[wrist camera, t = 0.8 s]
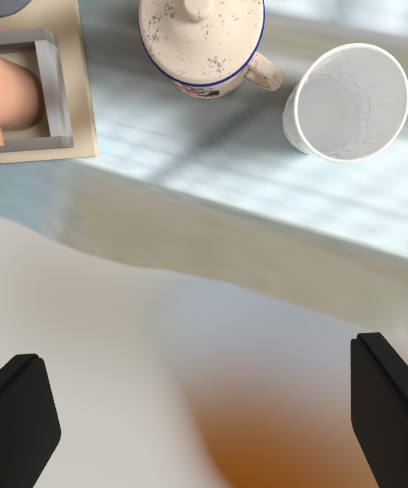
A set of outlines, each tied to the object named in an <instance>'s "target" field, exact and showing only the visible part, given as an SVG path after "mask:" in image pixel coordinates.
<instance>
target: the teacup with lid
mask: <svg viewBox="0 0 408 488" xmlns="http://www.w3.org/2000/svg"><path fill="white" fill-rule="evenodd" d="M264 21H265V7H264V0H140V1H139V8H138V25H139V31H140V36H141V40H142V43H143V45H144V48H145V50H146V52H147V54H148V56H149V57H150V59H151V60H152V62H153V63H154V64H155V66H156V67H157V68H158V69H159V70H160V71H161V72H162V73H163V74H165V75H166V76H167V77H169V78H170V79H171V81H172V82H173V83H174V84H175V85H176V86H177V87H178V88H179V89H180V90H181V91H183V92H184V93H186V94H188V95H190V96H193V97H196V98H201V99H213V98H218V97H221V96H223V95H226V94H227V93H229V92H231V91H232V90H233V89H235V88H236V87H237V86H238V85H239V84H240V83H241V82H242V80H243V79H244V78H245V79H247V80H248V81H250V82H252V83H253V84H255V85H257V86H259V87H261V88H263V89H266V90H269V91H275V90H277V89H278V88H279V87H280V85H281V84H282V82H283V75H282V73H281V71H280V70H279V69H278V68H277V67H276V66H275V65H274V64H273V63H272V62H270V61H269V60H268V59H266V58H265V57H263V56H262V55H260V54H259V53H257V52H256V50H257V48H258V45H259V43H260V40H261V37H262V33H263V29H264Z"/></svg>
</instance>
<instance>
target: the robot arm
mask: <svg viewBox="0 0 408 488" xmlns="http://www.w3.org/2000/svg"><path fill="white" fill-rule="evenodd" d="M351 421H352V426H353V430H354V433H355V435H356V437H357V439H358V441H359V444H360V446H361V448H362V450H363V452H364V455H365V457H366V459H367V462H368V464H369V466H370V468H371V470H372V473H373V475H374V477H375V479H376V482H377V484H378V486H379V488H408V366H407V364H406V363H405V362H404V361H403V359H402V358H401V357H400V356H399V355H398V353H397V352H396V351H395V350H394V349H393V347H392V346H391V345H390V344H389V343H388V342H387V340H386V339H385V338H384V337H383V335H382V334H381V333H379V332H374V333H359V334H358V335H357V339H352V340H351ZM60 438H61V428H60V424H59V420H58V415H57V411H56V407H55V403H54V399H53V395H52V391H51V387H50V383H49V379H48V375H47V371H46V367H45V363H44V360H43V359H42V358H39V356H38V355H37V354H22V355H21V354H19V355H15V356H14V357H13V358H12V359H11V360H10V361H9V362H8V363H6V364H5V366H3V367H2V368H1V369H0V488H33V486H34V485H35V483H36V481H37V479H38V478H39V476H40V474H41V472H42V471H43V469H44V467H45V466H46V464H47V462H48V461H49V459H50V457H51V455H52V454H53V452H54V450H55V449H56V447H57V445H58V443H59V441H60Z"/></svg>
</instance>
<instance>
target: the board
mask: <svg viewBox="0 0 408 488" xmlns="http://www.w3.org/2000/svg"><path fill="white" fill-rule="evenodd" d="M0 57H2V58H4V59H6V60H9V61H11V62H13V63H16V64H18V65H21V66H23V67H25V68H27V69H29V70H31V71H32V72H33V73H34V74H35V75H36V76H37V77H38V78H39V80H40V81H41V83H42V87H43V93H44V99H45V105H46V110H45V113H44V116H43V118H42V119H41V121H40V122H39V123H38V124H37V125H36V126H34V127H32V128H30V129H27V130H11V129H1V133H2V138H3V143H4V146H0V163H13V162H26V161H40V160H53V159H67V158H80V157H94V156H99V149H98V142H97V135H96V128H95V121H94V114H93V106H92V99H91V92H90V85H89V78H88V71H87V63H86V56H85V49H84V42H83V35H82V27H81V20H80V13H79V6H78V0H0Z"/></svg>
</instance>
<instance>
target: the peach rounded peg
mask: <svg viewBox="0 0 408 488" xmlns="http://www.w3.org/2000/svg"><path fill="white" fill-rule="evenodd" d="M45 110H46V105H45V99H44V93H43V87H42V83H41V81H40V80H39V78H38V77H37V76H36V75H35V74H34V73H33V72H32V71H31V70H29V69H27V68H25V67H23V66H21V65H18V64H16V63H13V62H11V61H9V60H6V59H4V58H2V57H0V146H4V143H3V138H2V133H1V129H11V130H27V129H30V128H32V127H34V126H36V125H37V124H38V123H39V122H40V121H41V119H42V118H43V116H44V113H45Z"/></svg>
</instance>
